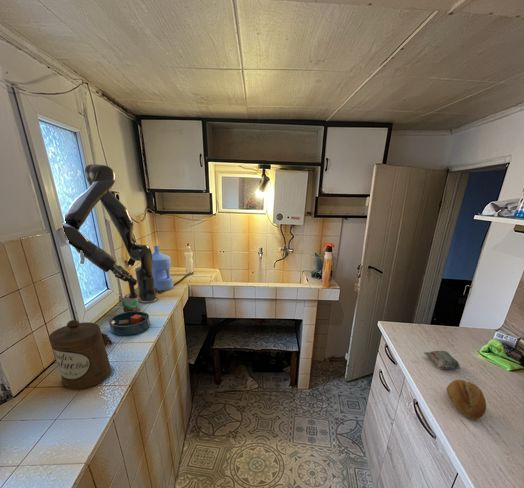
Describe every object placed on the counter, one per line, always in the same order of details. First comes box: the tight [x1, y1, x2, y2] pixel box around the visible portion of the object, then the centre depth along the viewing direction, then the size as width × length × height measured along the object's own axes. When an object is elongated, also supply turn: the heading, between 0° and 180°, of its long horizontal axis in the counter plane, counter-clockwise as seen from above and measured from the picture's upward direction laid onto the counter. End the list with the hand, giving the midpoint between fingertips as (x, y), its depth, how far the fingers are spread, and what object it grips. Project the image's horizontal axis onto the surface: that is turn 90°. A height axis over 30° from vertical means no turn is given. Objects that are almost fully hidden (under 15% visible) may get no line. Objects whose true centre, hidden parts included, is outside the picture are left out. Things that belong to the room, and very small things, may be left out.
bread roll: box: [446, 379, 487, 420], centre depth 90 cm, size 10×15×8 cm, turn 168°
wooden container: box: [48, 319, 112, 390], centre depth 97 cm, size 15×15×22 cm
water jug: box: [152, 245, 175, 292], centre depth 186 cm, size 16×16×28 cm
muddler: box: [127, 274, 139, 299], centre depth 136 cm, size 4×4×11 cm
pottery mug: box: [101, 332, 113, 347], centre depth 118 cm, size 12×10×8 cm
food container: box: [120, 291, 140, 313], centre depth 153 cm, size 12×6×10 cm, turn 179°
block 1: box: [118, 320, 130, 326], centre depth 133 cm, size 4×4×4 cm
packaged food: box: [423, 350, 462, 370], centre depth 113 cm, size 9×12×5 cm
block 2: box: [130, 315, 143, 325], centre depth 138 cm, size 4×4×4 cm
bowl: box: [108, 310, 151, 336], centre depth 136 cm, size 18×18×5 cm
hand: (135, 283), depth 136 cm, fingers closed on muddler, 2 cm apart
